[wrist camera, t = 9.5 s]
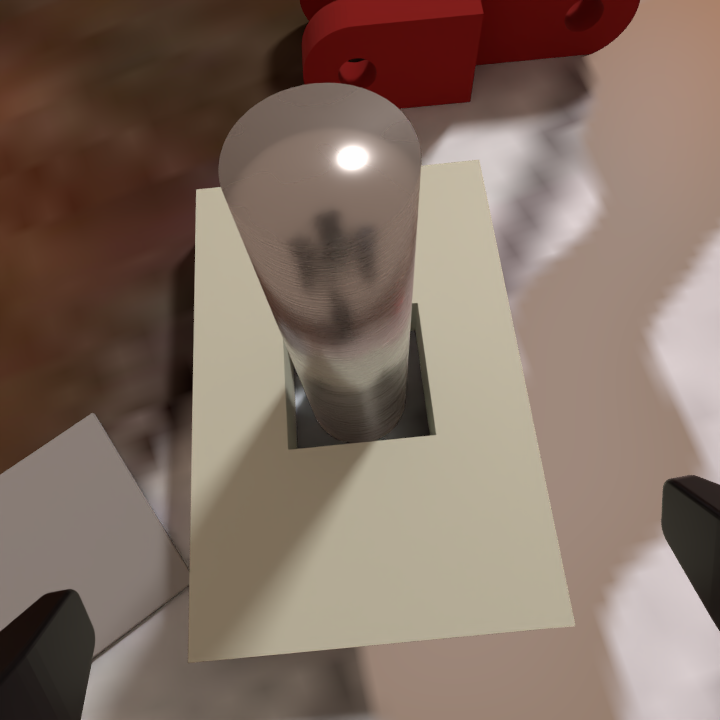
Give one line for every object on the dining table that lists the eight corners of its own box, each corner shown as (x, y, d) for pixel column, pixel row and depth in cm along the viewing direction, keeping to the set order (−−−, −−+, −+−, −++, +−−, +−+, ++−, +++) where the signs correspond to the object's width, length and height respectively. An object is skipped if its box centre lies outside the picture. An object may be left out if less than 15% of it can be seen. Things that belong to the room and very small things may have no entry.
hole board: (555, 623, 21) (576, 625, 18) (210, 656, 21) (186, 663, 18) (471, 196, 27) (479, 158, 25) (212, 224, 28) (195, 188, 25)
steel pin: (320, 452, 23) (230, 264, 10) (304, 363, 25) (209, 102, 12) (415, 432, 23) (443, 223, 11) (394, 346, 25) (397, 67, 12)
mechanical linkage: (310, 120, 30) (295, 32, 25) (305, 19, 33) (290, -77, 28) (629, 89, 30) (673, -5, 25) (597, -10, 32) (631, -112, 28)
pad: (-5, 732, 20) (-9, 733, 20) (-90, 537, 23) (-94, 537, 23) (195, 580, 22) (193, 580, 22) (95, 414, 24) (92, 413, 24)
